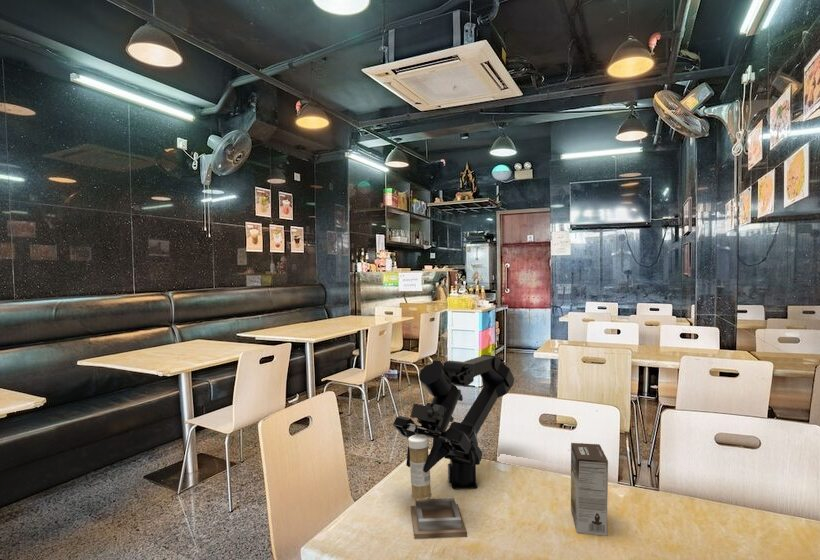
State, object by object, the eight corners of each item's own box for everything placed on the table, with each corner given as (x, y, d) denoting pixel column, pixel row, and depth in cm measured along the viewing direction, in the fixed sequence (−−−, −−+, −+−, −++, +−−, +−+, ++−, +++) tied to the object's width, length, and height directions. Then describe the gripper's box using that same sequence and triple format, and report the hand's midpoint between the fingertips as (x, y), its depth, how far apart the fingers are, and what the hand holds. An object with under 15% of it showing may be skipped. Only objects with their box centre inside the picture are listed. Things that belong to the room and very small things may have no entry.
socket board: (457, 508, 103) (457, 495, 103) (467, 536, 92) (467, 522, 92) (410, 510, 102) (410, 497, 102) (414, 538, 91) (414, 524, 91)
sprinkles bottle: (423, 490, 102) (419, 432, 103) (436, 497, 99) (432, 436, 99) (407, 497, 99) (403, 437, 100) (419, 504, 96) (416, 442, 96)
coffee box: (569, 510, 102) (570, 441, 102) (599, 513, 101) (599, 443, 100) (576, 533, 93) (576, 457, 93) (608, 537, 92) (609, 460, 91)
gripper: (397, 382, 107) (367, 442, 99) (464, 395, 96) (437, 463, 88) (416, 406, 114) (389, 464, 105) (481, 421, 103) (457, 486, 94)
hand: (416, 469), depth 98 cm, fingers closed on sprinkles bottle, 4 cm apart
